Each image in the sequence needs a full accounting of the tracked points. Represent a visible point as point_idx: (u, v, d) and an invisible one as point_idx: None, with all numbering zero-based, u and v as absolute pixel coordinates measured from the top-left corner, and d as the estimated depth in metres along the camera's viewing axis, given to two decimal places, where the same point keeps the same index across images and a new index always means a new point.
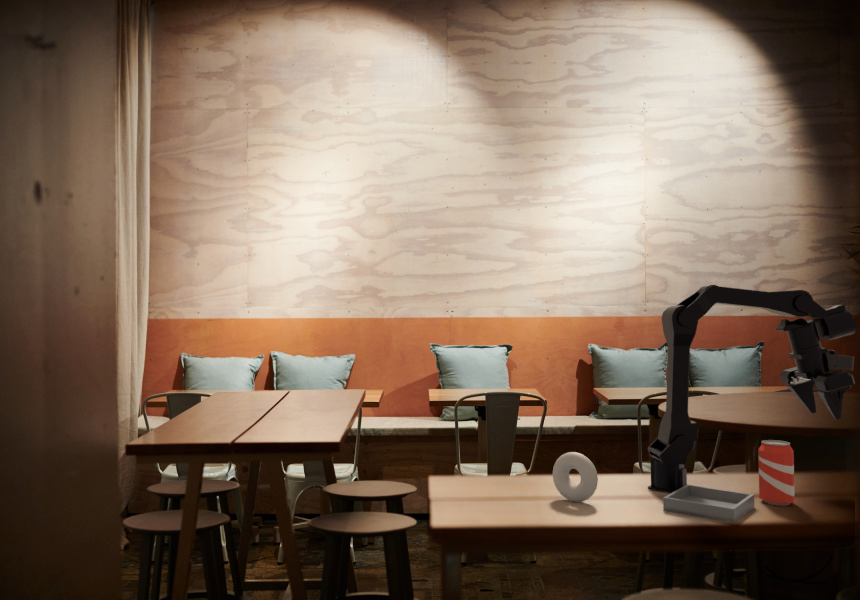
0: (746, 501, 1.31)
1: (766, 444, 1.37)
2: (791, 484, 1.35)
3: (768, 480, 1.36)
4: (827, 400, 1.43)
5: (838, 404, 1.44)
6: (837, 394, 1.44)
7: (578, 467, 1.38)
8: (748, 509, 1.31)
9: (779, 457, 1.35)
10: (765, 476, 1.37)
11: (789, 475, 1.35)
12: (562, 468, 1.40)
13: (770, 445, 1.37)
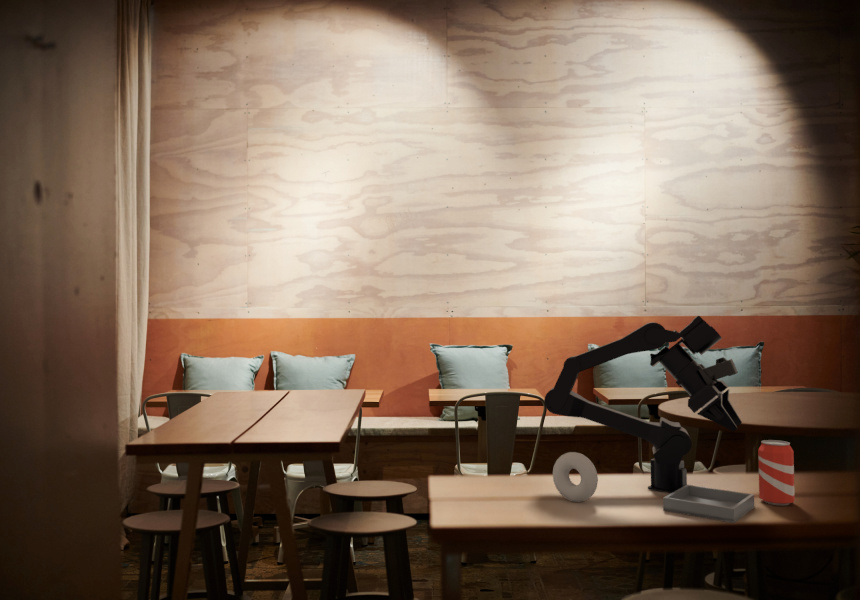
0: (746, 501, 1.31)
1: (766, 444, 1.37)
2: (791, 484, 1.35)
3: (768, 480, 1.36)
4: (709, 418, 1.40)
5: (723, 417, 1.39)
6: (717, 408, 1.39)
7: (578, 467, 1.38)
8: (748, 509, 1.31)
9: (779, 457, 1.35)
10: (765, 476, 1.37)
11: (789, 475, 1.35)
12: (562, 468, 1.40)
13: (770, 445, 1.37)
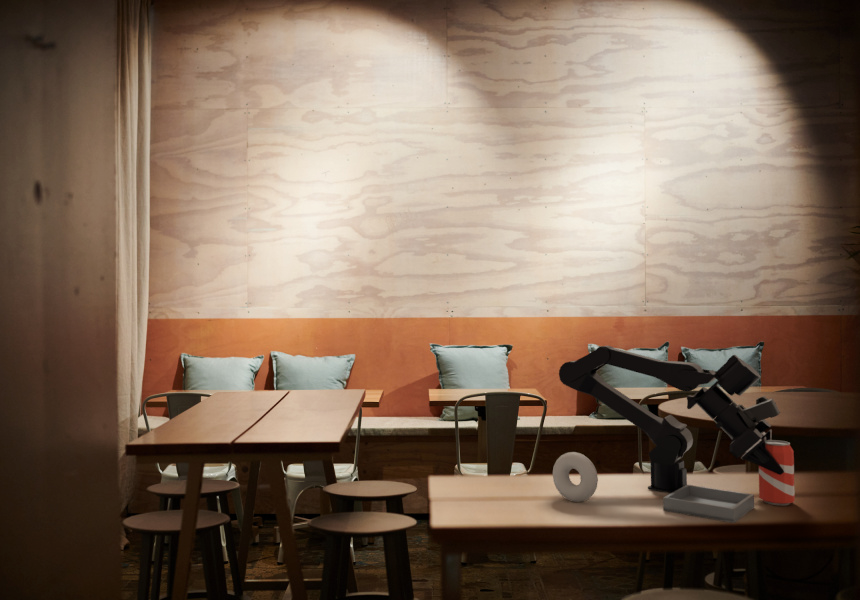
0: (746, 501, 1.31)
1: (766, 444, 1.37)
2: (791, 484, 1.35)
3: (768, 480, 1.36)
4: (754, 462, 1.36)
5: (769, 460, 1.35)
6: (762, 451, 1.35)
7: (578, 467, 1.38)
8: (748, 509, 1.31)
9: (779, 457, 1.35)
10: (765, 476, 1.37)
11: (789, 475, 1.35)
12: (562, 468, 1.40)
13: (770, 445, 1.37)
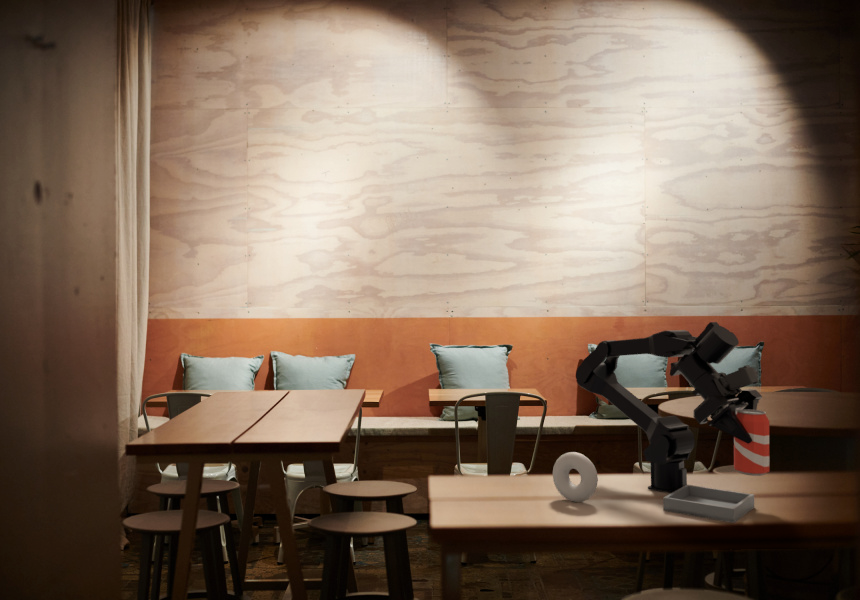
0: (746, 501, 1.31)
1: (739, 412, 1.34)
2: (762, 454, 1.32)
3: (738, 449, 1.34)
4: (721, 429, 1.34)
5: (736, 428, 1.32)
6: (730, 418, 1.33)
7: (578, 467, 1.38)
8: (748, 509, 1.31)
9: (749, 426, 1.32)
10: (736, 444, 1.34)
11: (760, 444, 1.32)
12: (562, 468, 1.40)
13: (742, 413, 1.34)
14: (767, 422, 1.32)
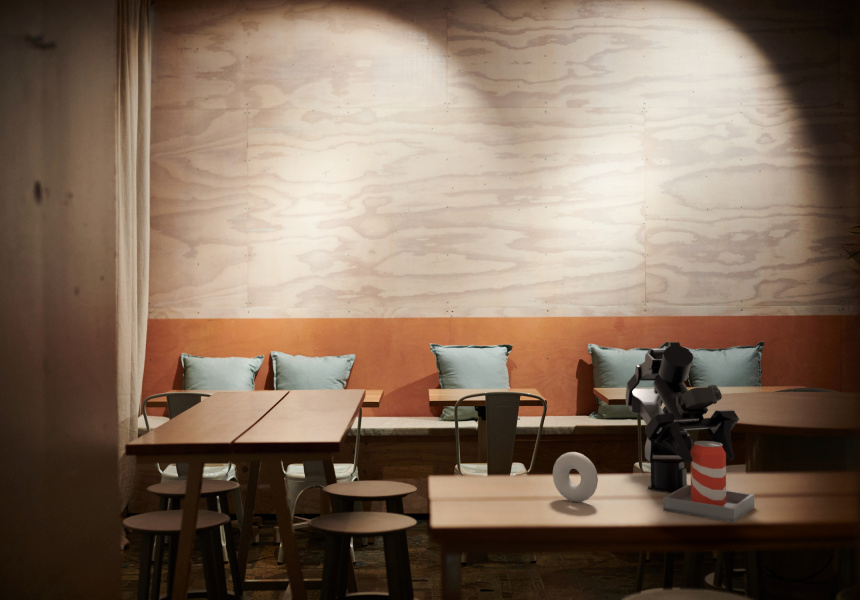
0: (746, 501, 1.31)
1: (694, 443, 1.35)
2: (711, 487, 1.31)
3: (691, 479, 1.34)
4: (668, 447, 1.36)
5: (679, 447, 1.34)
6: (674, 437, 1.35)
7: (578, 467, 1.38)
8: (748, 509, 1.31)
9: (698, 457, 1.32)
10: (691, 475, 1.35)
11: (708, 477, 1.31)
12: (562, 468, 1.40)
13: (695, 444, 1.34)
14: (718, 455, 1.31)
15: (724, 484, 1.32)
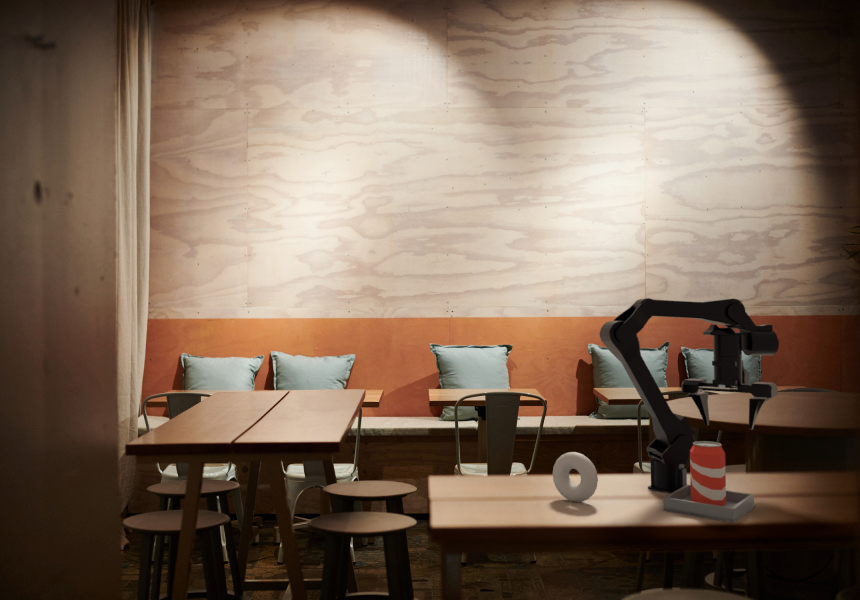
0: (746, 501, 1.31)
1: (693, 444, 1.35)
2: (710, 487, 1.31)
3: (691, 480, 1.34)
4: (756, 408, 1.45)
5: (756, 414, 1.47)
6: (757, 404, 1.47)
7: (578, 467, 1.38)
8: (748, 509, 1.31)
9: (697, 457, 1.32)
10: (690, 475, 1.35)
11: (707, 477, 1.31)
12: (562, 468, 1.40)
13: (694, 445, 1.34)
14: (717, 455, 1.31)
15: (724, 484, 1.32)
